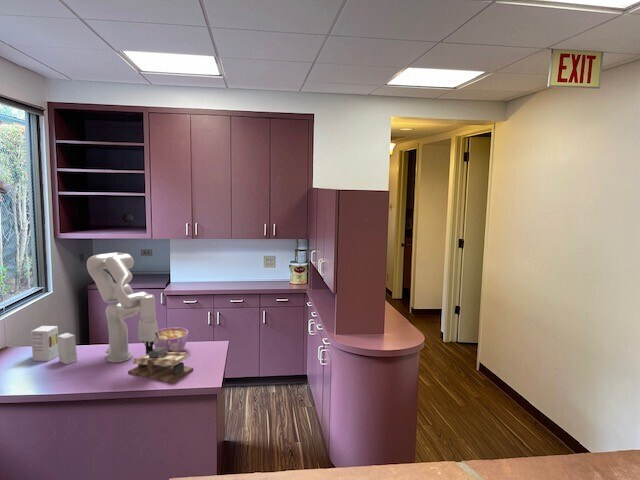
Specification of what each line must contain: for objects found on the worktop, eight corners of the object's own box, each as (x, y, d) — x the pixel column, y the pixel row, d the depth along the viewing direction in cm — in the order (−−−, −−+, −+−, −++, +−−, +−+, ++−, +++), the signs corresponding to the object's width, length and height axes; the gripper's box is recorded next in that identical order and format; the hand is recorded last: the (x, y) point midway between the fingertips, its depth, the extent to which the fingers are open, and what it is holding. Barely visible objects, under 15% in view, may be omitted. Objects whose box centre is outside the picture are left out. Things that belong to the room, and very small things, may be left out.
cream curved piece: (131, 365, 219) (130, 360, 219) (150, 355, 232) (149, 350, 232) (172, 366, 210) (171, 361, 209) (189, 356, 222) (189, 351, 222)
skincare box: (77, 361, 233) (76, 335, 231) (66, 365, 228) (64, 338, 226) (69, 357, 237) (67, 331, 235) (57, 361, 232) (56, 335, 230)
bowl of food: (177, 360, 236) (176, 340, 234) (144, 357, 240) (144, 337, 238) (195, 347, 255) (194, 328, 254) (164, 344, 259) (164, 326, 258)
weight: (149, 359, 219) (148, 351, 219) (157, 355, 225) (156, 347, 225) (158, 360, 217) (157, 351, 217) (166, 355, 223) (165, 347, 222)
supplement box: (49, 361, 232) (47, 331, 230) (32, 361, 232) (30, 331, 230) (60, 354, 241) (58, 325, 239) (43, 354, 242) (42, 325, 239)
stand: (128, 373, 219) (127, 356, 218) (150, 361, 234) (150, 345, 233) (172, 383, 209) (172, 365, 208) (193, 370, 224) (192, 353, 223)
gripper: (131, 318, 220) (132, 353, 222) (154, 322, 214) (155, 357, 217) (142, 314, 227) (143, 348, 229) (164, 318, 221) (166, 352, 224)
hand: (149, 352), depth 223 cm, fingers closed
